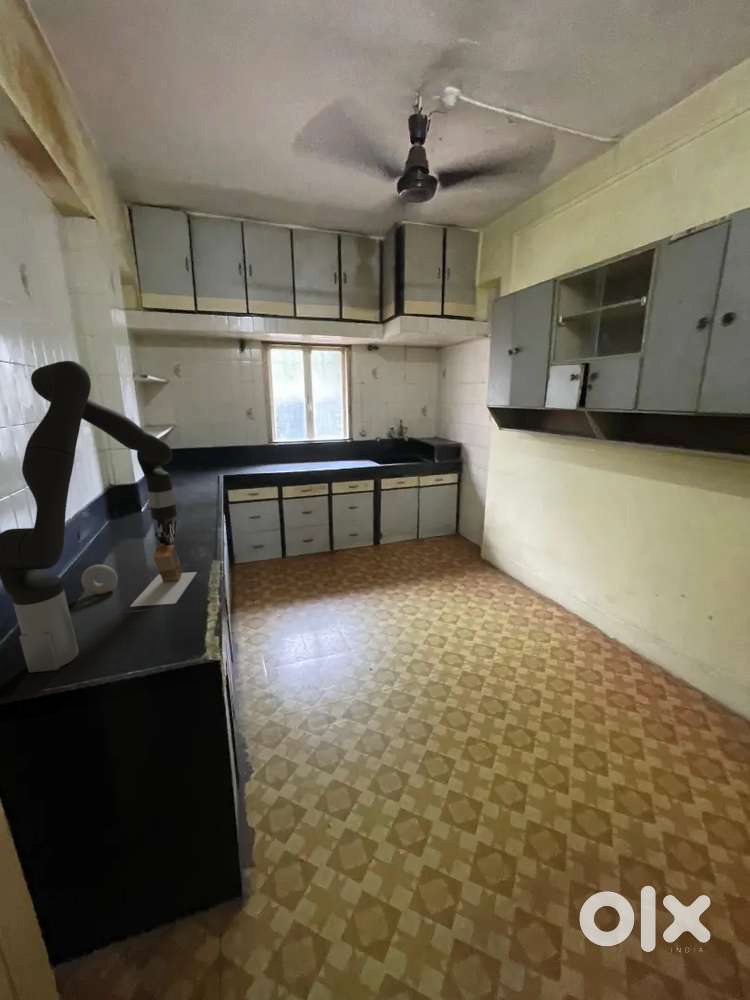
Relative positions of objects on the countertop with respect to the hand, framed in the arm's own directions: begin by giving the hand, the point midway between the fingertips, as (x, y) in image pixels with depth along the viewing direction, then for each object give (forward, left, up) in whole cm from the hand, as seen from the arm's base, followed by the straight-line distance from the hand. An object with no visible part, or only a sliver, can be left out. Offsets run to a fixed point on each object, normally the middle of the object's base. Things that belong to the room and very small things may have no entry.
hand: (170, 552), depth 136 cm
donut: (-7, +19, -10) cm, 23 cm away
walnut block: (-1, 0, -8) cm, 8 cm away
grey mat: (-7, 0, -10) cm, 12 cm away
